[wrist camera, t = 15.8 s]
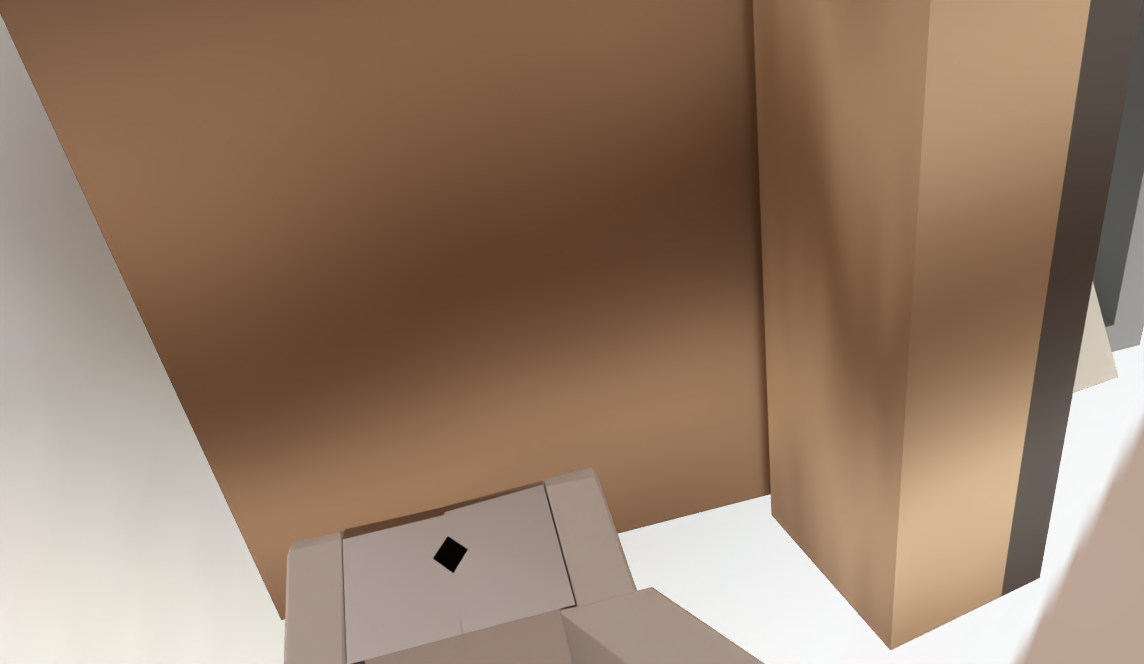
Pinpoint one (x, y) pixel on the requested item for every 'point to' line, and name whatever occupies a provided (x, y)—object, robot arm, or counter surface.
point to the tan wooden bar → (929, 281)
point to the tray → (1125, 220)
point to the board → (430, 243)
